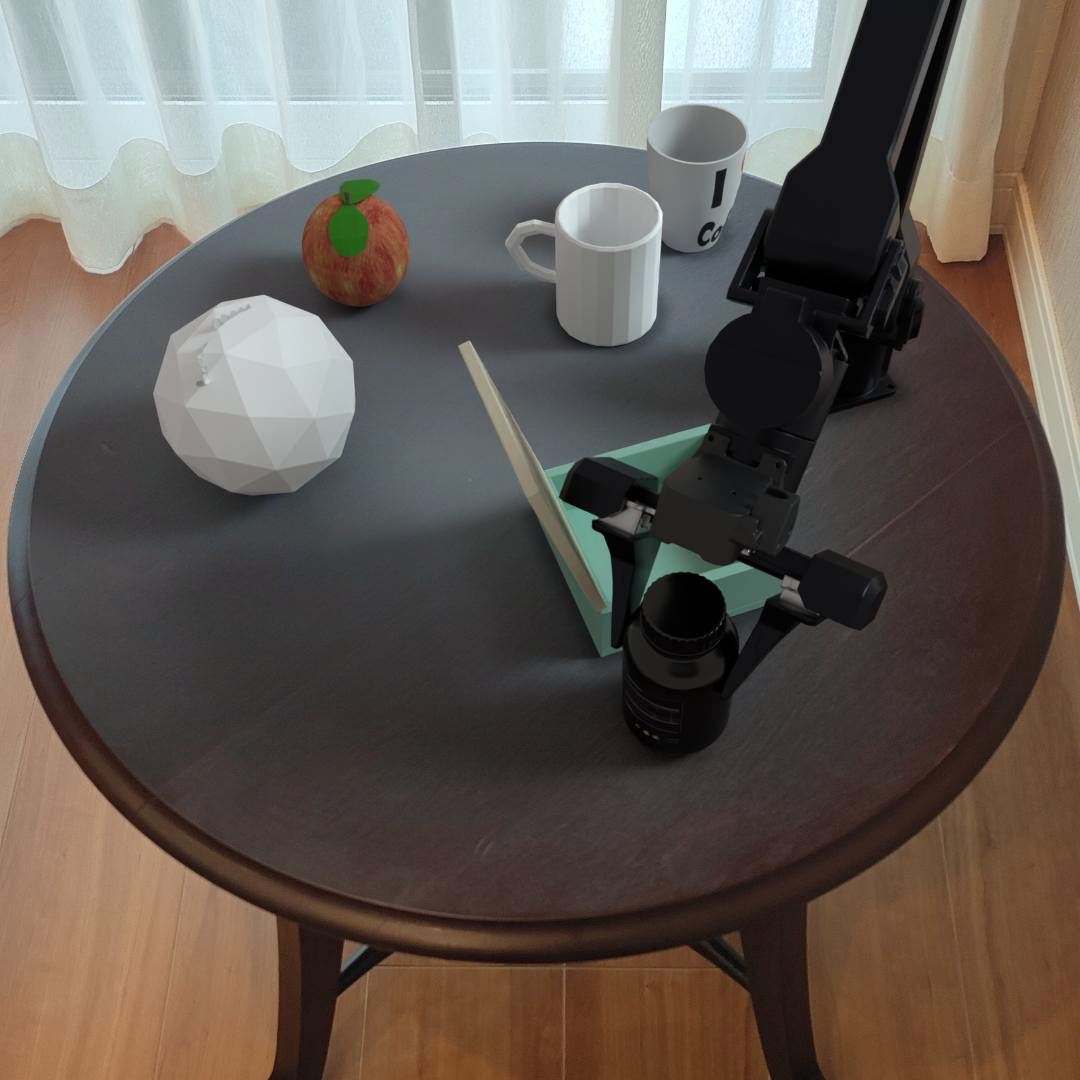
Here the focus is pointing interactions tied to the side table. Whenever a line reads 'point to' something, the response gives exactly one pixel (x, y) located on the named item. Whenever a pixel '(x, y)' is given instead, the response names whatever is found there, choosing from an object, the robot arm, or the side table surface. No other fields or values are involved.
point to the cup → (695, 171)
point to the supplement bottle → (678, 664)
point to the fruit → (356, 245)
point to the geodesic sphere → (256, 396)
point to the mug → (601, 262)
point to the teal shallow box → (735, 581)
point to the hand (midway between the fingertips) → (668, 672)
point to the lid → (531, 476)
